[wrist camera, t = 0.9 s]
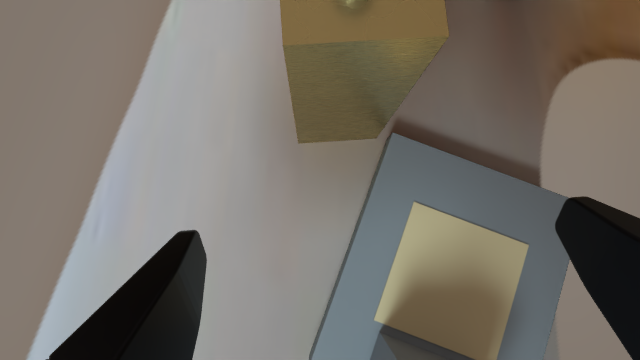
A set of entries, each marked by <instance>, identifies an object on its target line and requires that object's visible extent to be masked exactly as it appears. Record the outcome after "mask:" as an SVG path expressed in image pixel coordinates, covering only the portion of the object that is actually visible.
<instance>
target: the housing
mask: <svg viewBox="0 0 640 360" xmlns="http://www.w3.org/2000/svg"><path fill="white" fill-rule="evenodd" d="M280 7H281V23H282V38H283V49H284V55H285V62H286V68H287V74H288V81H289V87H290V93H291V100H292V106H293V113H294V119H295V125H296V132H297V138H298V143H313V142H328V141H343V140H358V139H373V138H377V136H378V135H379V134H380V132H381V131H382V129H383V128H384V127H385V125H386V124H387V122H388V121H389V120H390V118H391V117H392V115H393V114H394V113H395V111H396V110H397V108H398V107H399V106H400V104H401V103H402V101H403V100H404V99H405V97H406V96H407V94H408V93H409V92H410V90H411V89H412V87H413V86H414V85H415V83H416V82H417V80H418V79H419V78H420V76H421V75H422V73H423V72H424V71H425V69H426V68H427V66H428V65H429V63H430V62H431V61H432V59H433V58H434V56H435V55H436V54H437V52H438V51H439V49H440V48H441V47H442V45H443V44H444V42H445V41H446V40H447V38H448V37H449V30H448V23H447V15H446V8H445V0H280Z"/></svg>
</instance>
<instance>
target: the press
mask: <svg viewBox="0 0 640 360" xmlns="http://www.w3.org/2000/svg"><path fill="white" fill-rule="evenodd" d="M567 199H568V197H565V196H562V195H560V194H557V193H554V192H552V191H549V190H546V189H544V188H541V187H538V186H536V185H533V184H530V183H527V182H525V181H522V180H519V179H517V178H514V177H511V176H509V175H506V174H503V173H501V172H498V171H495V170H492V169H490V168H487V167H484V166H482V165H479V164H476V163H474V162H471V161H468V160H466V159H463V158H460V157H457V156H455V155H452V154H449V153H447V152H444V151H441V150H439V149H436V148H433V147H431V146H428V145H425V144H423V143H420V142H417V141H414V140H412V139H409V138H406V137H404V136H401V135H398V134H396V133H392V134H391V135H390V136H389V137H388V139H387V141H386V144H385V147H384V149H383V152H382V155H381V158H380V161H379V163H378V166H377V169H376V172H375V175H374V177H373V180H372V183H371V186H370V188H369V191H368V194H367V197H366V200H365V202H364V205H363V208H362V211H361V213H360V216H359V219H358V222H357V225H356V227H355V230H354V233H353V236H352V238H351V241H350V244H349V247H348V250H347V252H346V255H345V258H344V261H343V263H342V266H341V269H340V272H339V275H338V277H337V280H336V283H335V286H334V289H333V291H332V294H331V297H330V300H329V302H328V305H327V308H326V311H325V314H324V316H323V319H322V322H321V325H320V327H319V330H318V333H317V336H316V339H315V341H314V344H313V347H312V350H311V352H310V355H309V360H543V357H544V354H545V350H546V346H547V342H548V339H549V335H550V331H551V327H552V324H553V320H554V316H555V312H556V309H557V305H558V301H559V297H560V294H561V290H562V286H563V282H564V279H565V275H566V271H567V267H568V264H569V260H570V258H569V256H568V254H567V252H566V250H565V248H564V246H563V244H562V243H561V241H560V239H559V237H558V235H557V233H556V230H555V222H556V219H557V217H558V215H559V213H560V211H561V209H562V206H563V204H564V202H565V201H566V200H567Z"/></svg>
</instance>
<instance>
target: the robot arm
mask: <svg viewBox="0 0 640 360" xmlns="http://www.w3.org/2000/svg"><path fill="white" fill-rule="evenodd" d="M555 230H556V233H557V235H558V237H559V239H560V241H561V243H562V244H563V246H564V248H565V250H566V252H567V254H568V256H569V258H570V260H571V262H572V263H573V265H574V267H575V269H576V271H577V273H578V275H579V277H580V279H581V280H582V282H583V284H584V286H585V287H586V289H587V291H588V292H589V294H590V295H591V297H592V299H593V300H594V302H595V303H596V305H597V306H598V308H599V309H600V311H601V312H602V314H603V315H604V317H605V318H606V320H607V321H608V323H609V324H610V326H611V327H612V329H613V330H614V332H615V333H616V335H617V336H618V338H619V339H620V341H621V343H622V344H623V345H624V347H625V349H626V350H627V352H628V353H629V355H630V356H631V358H632V359H633V360H640V218H637V217H635V216H632V215H630V214H628V213H625V212H623V211H620V210H618V209H615V208H613V207H611V206H608V205H606V204H603V203H601V202H599V201H596V200H594V199H591V198H589V197H572V198H568V199H567V200H566V201H565V202H564V204H563V206H562V209H561V211H560V213H559V215H558V217H557V219H556V222H555ZM206 264H207V258H206V253H205V250H204V247H203V244H202V241H201V238H200V235H199V233H198V232H197V231H196V230H187V231H180V232H178V233H177V234H175V235H174V236H173V237H172V238H171V239H170V240H169V241H168V242H167V243H166V244H165V245H164V246H163V247H162V248H161V249H160V250H159V251H158V252H157V253H156V254H155V255H154V256H153V257H152V258H151V259H150V260H148V261H147V262H146V263H145V264H144V265H143V266H142V267H141V268H140V269H139V270H138V271H137V272H136V273H135V274H134V275H133V276H132V277H131V278H130V279H129V280H128V281H127V282H126V283H125V284H124V285H123V286H121V287H120V288H119V289H118V290H117V291H116V292H115V293H114V294H113V295H112V296H111V297H110V298H109V299H108V300H107V301H106V302H105V303H104V304H103V305H102V306H101V307H100V308H99V309H98V310H97V311H95V312H94V313H93V314H92V315H91V316H90V317H89V318H88V319H87V320H86V321H85V322H84V323H83V324H82V325H81V326H80V327H79V328H78V329H77V330H76V331H75V332H74V333H73V334H72V335H71V336H70V337H68V338H67V339H66V340H65V341H64V342H63V343H62V344H61V345H60V346H59V347H58V348H57V349H56V350H55V351H54V352H53V353H52V354H51V355H50V356H49V359H46V360H192V358H193V353H194V349H195V344H196V340H197V336H198V331H199V326H200V320H201V311H202V302H203V292H204V283H205V273H206Z"/></svg>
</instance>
